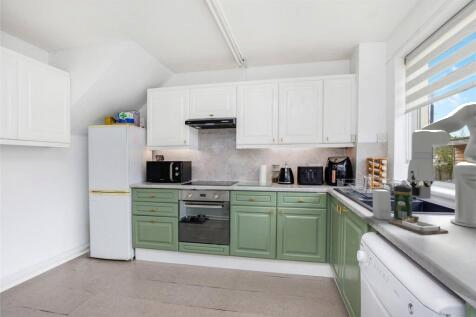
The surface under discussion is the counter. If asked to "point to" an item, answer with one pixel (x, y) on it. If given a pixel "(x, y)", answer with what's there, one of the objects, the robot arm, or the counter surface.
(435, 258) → the counter surface
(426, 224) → the end holder
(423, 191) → the connector block
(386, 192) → the skincare box
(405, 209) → the coffee jar
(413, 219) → the board
